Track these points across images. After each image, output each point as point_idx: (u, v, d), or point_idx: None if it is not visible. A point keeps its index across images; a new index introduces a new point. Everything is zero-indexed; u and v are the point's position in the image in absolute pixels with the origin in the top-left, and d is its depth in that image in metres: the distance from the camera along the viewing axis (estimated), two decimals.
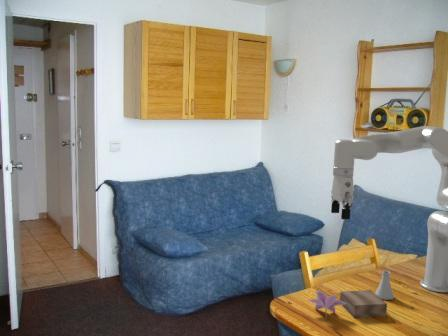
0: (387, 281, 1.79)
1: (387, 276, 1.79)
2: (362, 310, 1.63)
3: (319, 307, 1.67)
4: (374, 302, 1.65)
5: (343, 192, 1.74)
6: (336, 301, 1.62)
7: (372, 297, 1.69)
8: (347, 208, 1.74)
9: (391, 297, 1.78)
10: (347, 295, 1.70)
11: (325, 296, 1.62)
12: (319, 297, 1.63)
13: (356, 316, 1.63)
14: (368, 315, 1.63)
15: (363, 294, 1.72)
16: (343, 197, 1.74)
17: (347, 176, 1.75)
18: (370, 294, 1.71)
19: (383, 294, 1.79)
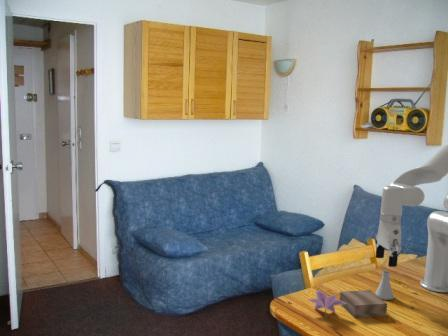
0: (387, 281, 1.79)
1: (387, 276, 1.79)
2: (362, 311, 1.63)
3: (319, 307, 1.67)
4: (375, 301, 1.65)
5: (391, 239, 1.73)
6: (336, 301, 1.63)
7: (372, 297, 1.69)
8: (395, 256, 1.73)
9: (391, 297, 1.78)
10: (347, 295, 1.70)
11: (325, 296, 1.62)
12: (319, 296, 1.63)
13: (357, 316, 1.62)
14: (368, 315, 1.63)
15: (363, 294, 1.72)
16: (391, 244, 1.73)
17: (395, 223, 1.73)
18: (370, 294, 1.71)
19: (383, 294, 1.79)
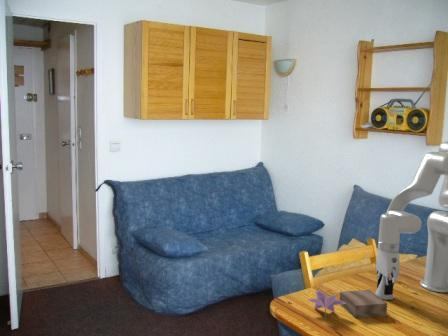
0: None
1: None
2: (363, 311, 1.63)
3: (318, 307, 1.68)
4: (375, 301, 1.65)
5: (389, 268, 1.75)
6: (335, 301, 1.63)
7: (372, 297, 1.69)
8: (390, 284, 1.77)
9: (391, 297, 1.78)
10: (347, 295, 1.70)
11: (324, 296, 1.62)
12: (319, 296, 1.63)
13: (357, 316, 1.62)
14: (369, 315, 1.63)
15: (362, 294, 1.72)
16: None
17: (393, 251, 1.75)
18: (370, 294, 1.71)
19: (383, 294, 1.79)
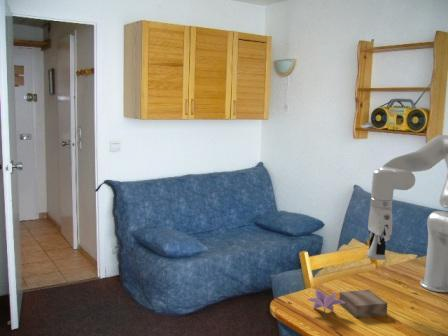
0: None
1: None
2: (364, 311, 1.62)
3: (317, 306, 1.68)
4: (375, 301, 1.65)
5: (382, 225, 1.66)
6: (335, 300, 1.63)
7: (372, 297, 1.69)
8: (382, 243, 1.68)
9: (383, 257, 1.70)
10: (347, 296, 1.69)
11: (324, 295, 1.62)
12: (318, 296, 1.63)
13: (358, 317, 1.62)
14: (369, 315, 1.63)
15: (362, 294, 1.72)
16: None
17: (386, 208, 1.66)
18: (370, 294, 1.72)
19: (375, 254, 1.70)
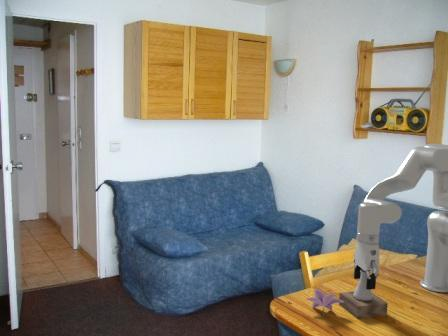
0: (366, 281, 1.67)
1: (366, 275, 1.67)
2: (364, 311, 1.62)
3: (316, 305, 1.69)
4: (375, 301, 1.65)
5: (368, 261, 1.61)
6: (333, 299, 1.64)
7: None
8: (373, 278, 1.61)
9: (370, 298, 1.66)
10: (347, 296, 1.69)
11: (323, 294, 1.63)
12: (317, 295, 1.64)
13: (359, 317, 1.62)
14: (370, 315, 1.63)
15: None
16: (368, 266, 1.62)
17: (372, 243, 1.62)
18: None
19: (362, 295, 1.66)
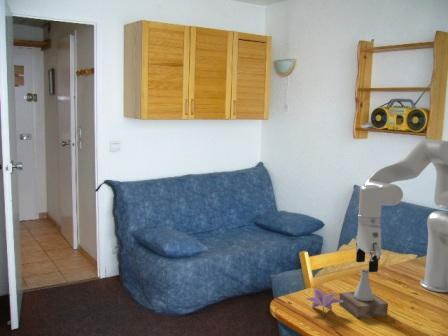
0: (366, 281, 1.66)
1: (366, 276, 1.66)
2: (365, 311, 1.62)
3: (316, 305, 1.69)
4: (376, 302, 1.65)
5: (370, 243, 1.61)
6: (333, 299, 1.64)
7: None
8: (375, 260, 1.61)
9: (371, 298, 1.66)
10: (347, 296, 1.69)
11: (322, 294, 1.63)
12: (317, 295, 1.64)
13: (360, 317, 1.62)
14: (370, 316, 1.63)
15: None
16: (370, 249, 1.61)
17: (374, 226, 1.61)
18: None
19: (362, 295, 1.66)
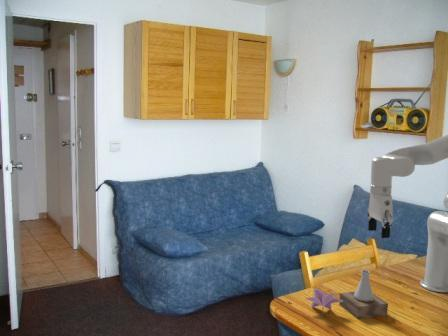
0: (367, 281, 1.66)
1: (367, 276, 1.66)
2: (365, 312, 1.62)
3: (315, 305, 1.69)
4: (376, 302, 1.65)
5: (383, 211, 1.72)
6: (333, 299, 1.64)
7: None
8: (387, 227, 1.72)
9: (371, 298, 1.65)
10: (347, 297, 1.69)
11: (322, 294, 1.63)
12: (316, 294, 1.64)
13: (360, 318, 1.62)
14: (370, 316, 1.63)
15: None
16: (383, 216, 1.72)
17: (386, 194, 1.73)
18: None
19: (363, 296, 1.66)
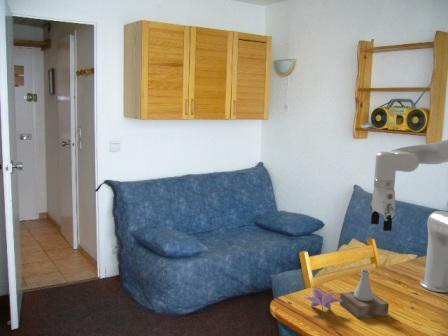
0: (367, 281, 1.66)
1: (367, 276, 1.66)
2: (365, 311, 1.62)
3: (315, 305, 1.69)
4: (376, 302, 1.65)
5: (385, 204, 1.76)
6: (332, 298, 1.65)
7: (373, 297, 1.69)
8: (389, 220, 1.76)
9: (371, 298, 1.66)
10: (348, 296, 1.69)
11: (322, 294, 1.64)
12: (316, 294, 1.64)
13: (360, 317, 1.62)
14: (371, 316, 1.63)
15: None
16: (385, 209, 1.76)
17: (389, 188, 1.76)
18: None
19: (363, 295, 1.66)
